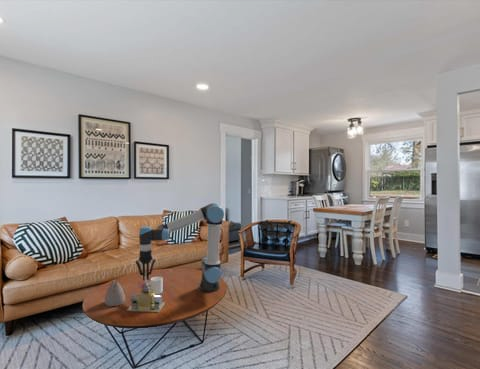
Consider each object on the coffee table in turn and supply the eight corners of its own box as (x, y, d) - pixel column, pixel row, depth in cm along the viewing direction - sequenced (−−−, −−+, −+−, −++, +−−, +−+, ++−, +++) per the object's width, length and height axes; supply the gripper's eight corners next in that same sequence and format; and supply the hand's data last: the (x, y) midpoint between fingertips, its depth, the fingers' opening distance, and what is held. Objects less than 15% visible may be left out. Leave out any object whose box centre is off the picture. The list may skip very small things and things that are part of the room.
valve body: (164, 303, 184) (165, 288, 183) (158, 312, 172) (158, 296, 171) (135, 302, 185) (135, 287, 185) (127, 310, 173) (127, 295, 173)
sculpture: (101, 307, 177) (101, 284, 177) (108, 299, 189) (108, 277, 189) (122, 306, 178) (122, 283, 178) (128, 298, 190) (128, 277, 190)
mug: (147, 297, 193) (147, 282, 192) (143, 293, 199) (143, 279, 199) (164, 293, 200) (164, 279, 199) (160, 289, 206) (160, 275, 206)
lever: (150, 291, 178) (150, 287, 178) (144, 293, 175) (144, 288, 175) (142, 284, 190) (142, 280, 189) (137, 285, 187) (137, 281, 187)
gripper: (156, 247, 190) (156, 281, 191) (136, 249, 188) (136, 283, 188) (154, 250, 183) (155, 286, 184) (134, 251, 180) (135, 287, 181)
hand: (146, 284), depth 186 cm, fingers closed
